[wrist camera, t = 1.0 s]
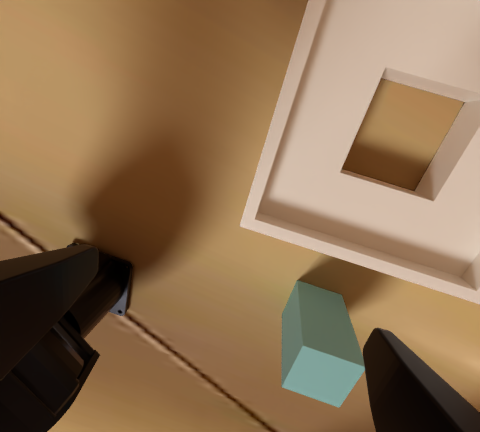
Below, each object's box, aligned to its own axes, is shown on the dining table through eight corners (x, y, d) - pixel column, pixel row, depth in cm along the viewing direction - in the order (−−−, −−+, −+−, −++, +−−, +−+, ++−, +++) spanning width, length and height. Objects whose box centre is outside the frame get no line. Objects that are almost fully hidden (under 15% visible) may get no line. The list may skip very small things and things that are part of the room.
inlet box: (444, 270, 20) (481, 304, 16) (247, 207, 20) (239, 226, 17) (613, 30, 14) (736, -4, 10) (325, -46, 14) (340, -104, 11)
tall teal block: (323, 328, 23) (339, 407, 17) (282, 314, 24) (281, 387, 17) (341, 294, 22) (366, 367, 15) (297, 280, 22) (303, 345, 16)
